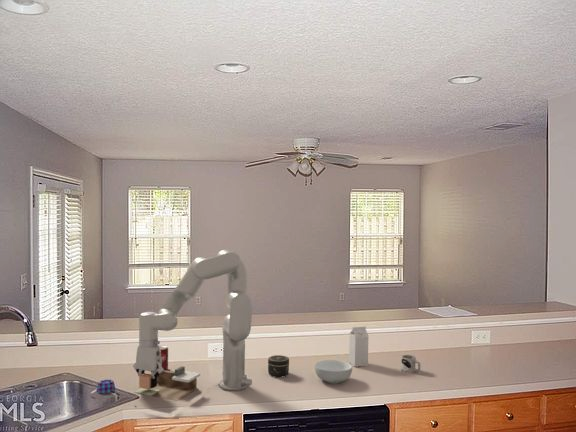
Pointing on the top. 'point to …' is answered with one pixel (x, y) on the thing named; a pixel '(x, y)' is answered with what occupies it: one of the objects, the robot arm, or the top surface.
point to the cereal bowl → (333, 370)
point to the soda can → (164, 357)
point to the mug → (409, 363)
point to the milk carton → (358, 347)
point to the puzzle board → (169, 387)
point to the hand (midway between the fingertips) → (148, 385)
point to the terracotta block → (145, 380)
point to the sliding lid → (184, 375)
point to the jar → (278, 365)
